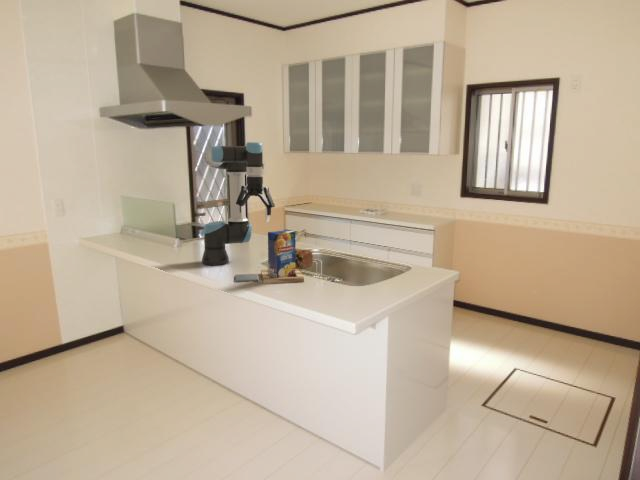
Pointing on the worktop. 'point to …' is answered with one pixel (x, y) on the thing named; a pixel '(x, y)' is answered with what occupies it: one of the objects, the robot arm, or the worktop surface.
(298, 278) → the board
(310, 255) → the bread
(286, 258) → the juice carton
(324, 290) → the worktop surface
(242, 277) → the plate
